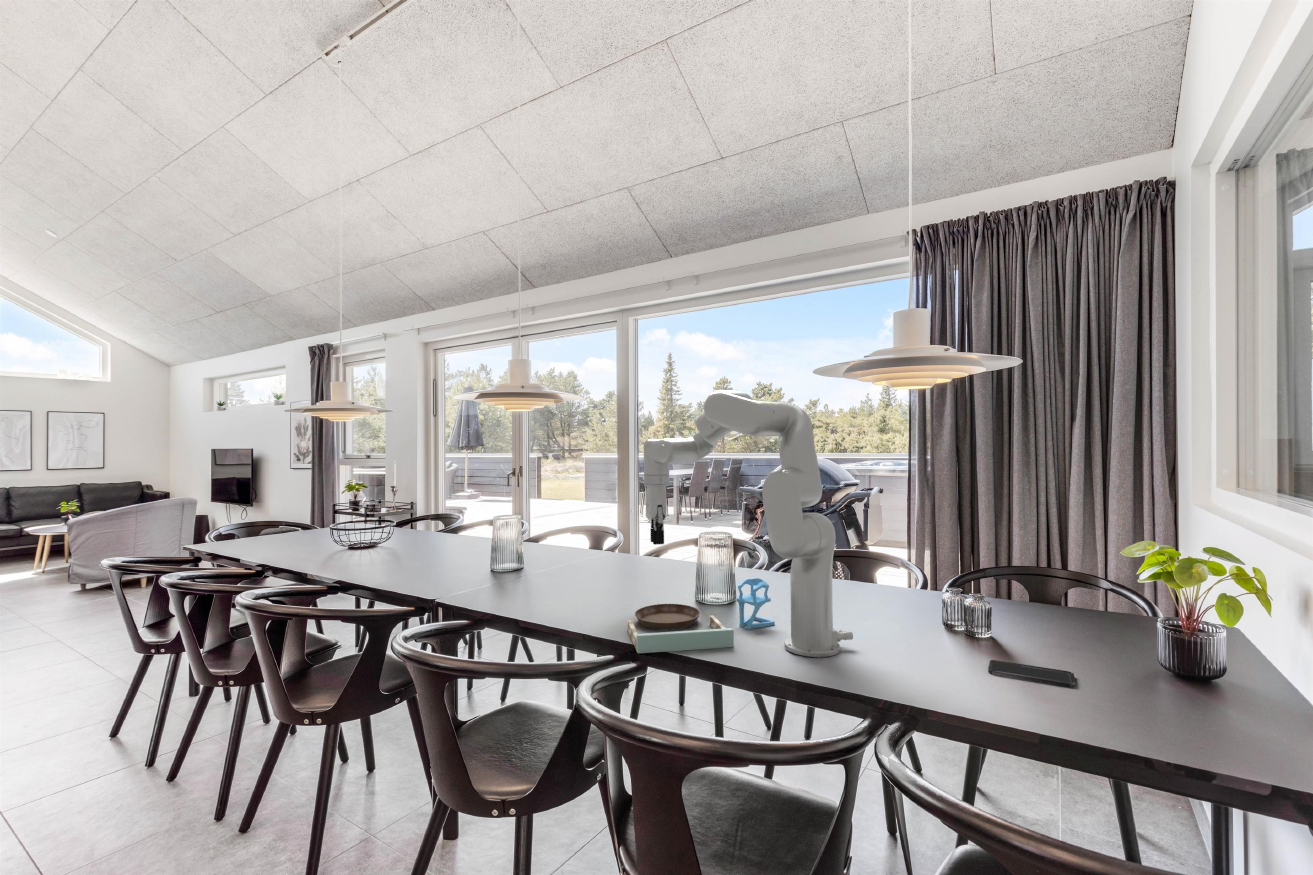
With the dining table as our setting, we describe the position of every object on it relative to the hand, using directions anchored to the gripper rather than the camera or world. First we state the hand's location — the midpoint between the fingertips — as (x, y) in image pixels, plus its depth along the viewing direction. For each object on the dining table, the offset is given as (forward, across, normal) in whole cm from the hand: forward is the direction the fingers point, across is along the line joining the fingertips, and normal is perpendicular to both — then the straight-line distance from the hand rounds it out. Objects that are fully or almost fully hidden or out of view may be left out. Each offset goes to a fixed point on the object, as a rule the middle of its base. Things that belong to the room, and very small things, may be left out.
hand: (657, 542), depth 181 cm
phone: (+20, +67, +66) cm, 96 cm away
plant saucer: (+20, +15, 0) cm, 25 cm away
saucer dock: (+19, +29, 0) cm, 35 cm away
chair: (+19, +22, +22) cm, 37 cm away
